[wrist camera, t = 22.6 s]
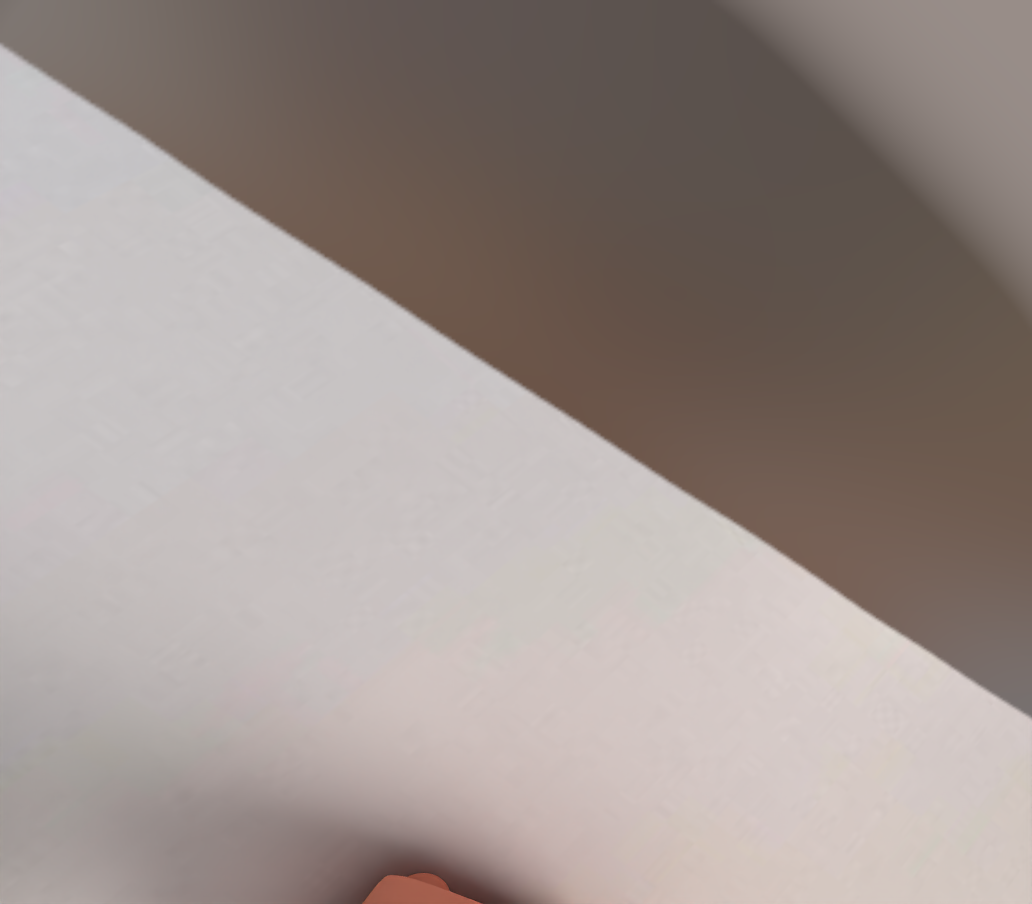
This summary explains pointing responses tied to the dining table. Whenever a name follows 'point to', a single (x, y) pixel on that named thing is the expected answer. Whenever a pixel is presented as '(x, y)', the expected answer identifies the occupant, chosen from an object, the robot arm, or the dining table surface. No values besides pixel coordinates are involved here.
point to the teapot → (414, 891)
